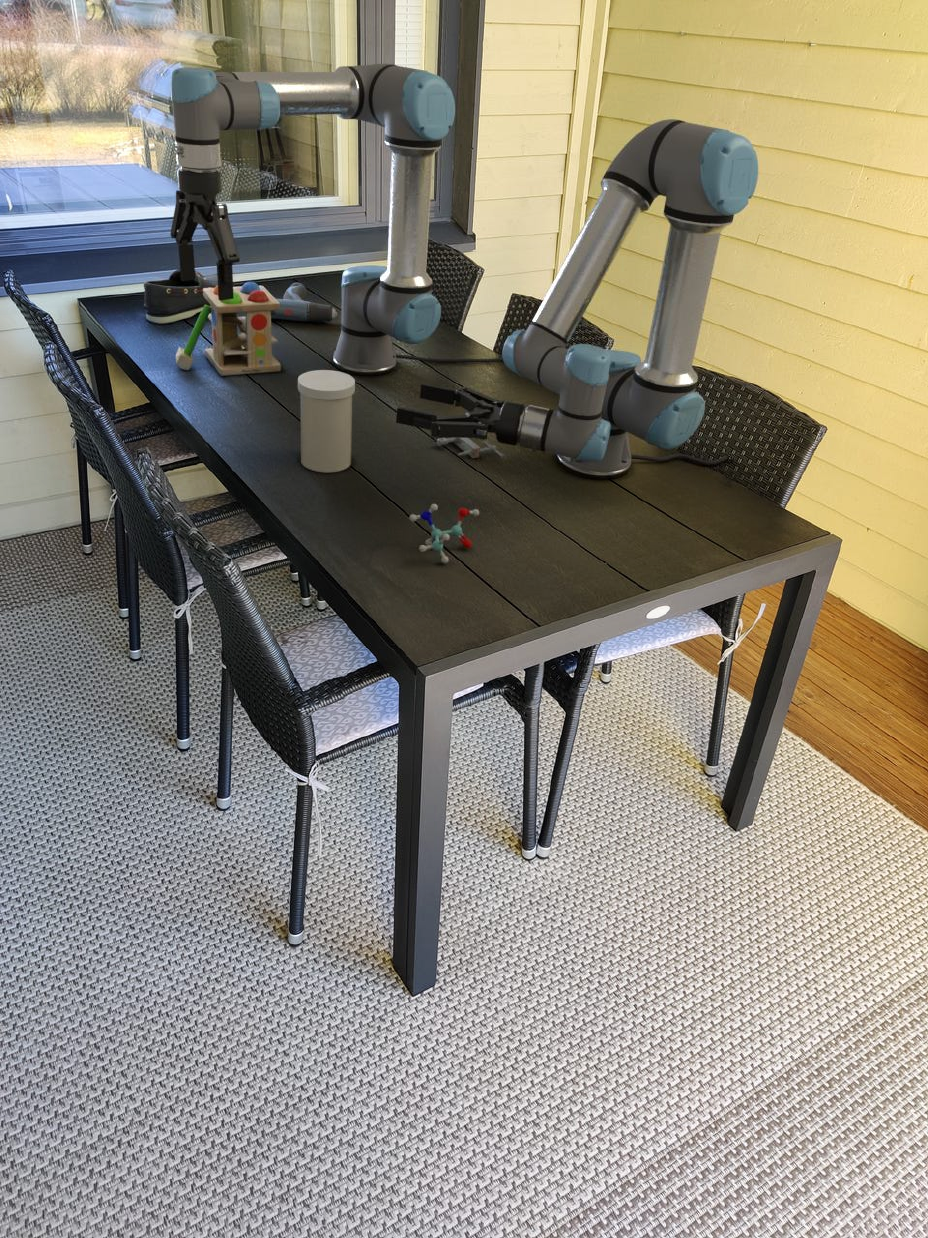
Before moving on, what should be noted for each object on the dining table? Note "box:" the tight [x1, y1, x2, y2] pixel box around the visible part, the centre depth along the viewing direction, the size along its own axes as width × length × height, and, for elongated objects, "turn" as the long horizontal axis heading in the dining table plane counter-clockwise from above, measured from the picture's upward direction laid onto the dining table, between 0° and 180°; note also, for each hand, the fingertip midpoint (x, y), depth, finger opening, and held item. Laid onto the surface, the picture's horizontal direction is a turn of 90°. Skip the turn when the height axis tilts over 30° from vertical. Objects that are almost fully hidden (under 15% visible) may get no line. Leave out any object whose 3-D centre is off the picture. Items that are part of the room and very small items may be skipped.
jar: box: [299, 392, 354, 473], centre depth 188 cm, size 10×10×16 cm
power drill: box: [271, 282, 338, 322], centre depth 265 cm, size 5×19×20 cm
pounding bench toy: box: [174, 281, 282, 377], centre depth 225 cm, size 23×14×18 cm, turn 116°
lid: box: [297, 369, 356, 400], centre depth 184 cm, size 11×11×2 cm
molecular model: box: [408, 503, 480, 564], centre depth 166 cm, size 12×10×10 cm
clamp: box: [436, 437, 507, 460], centre depth 201 cm, size 15×2×10 cm
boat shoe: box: [143, 268, 235, 324], centre depth 260 cm, size 13×33×10 cm, turn 147°
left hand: (206, 289), depth 186 cm, fingers open, 13 cm apart
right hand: (409, 402), depth 179 cm, fingers open, 13 cm apart
